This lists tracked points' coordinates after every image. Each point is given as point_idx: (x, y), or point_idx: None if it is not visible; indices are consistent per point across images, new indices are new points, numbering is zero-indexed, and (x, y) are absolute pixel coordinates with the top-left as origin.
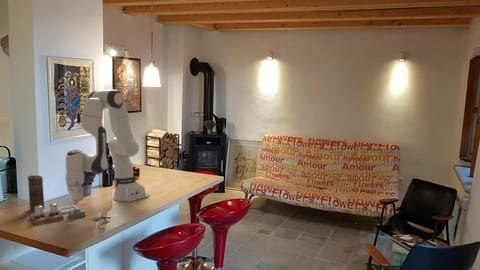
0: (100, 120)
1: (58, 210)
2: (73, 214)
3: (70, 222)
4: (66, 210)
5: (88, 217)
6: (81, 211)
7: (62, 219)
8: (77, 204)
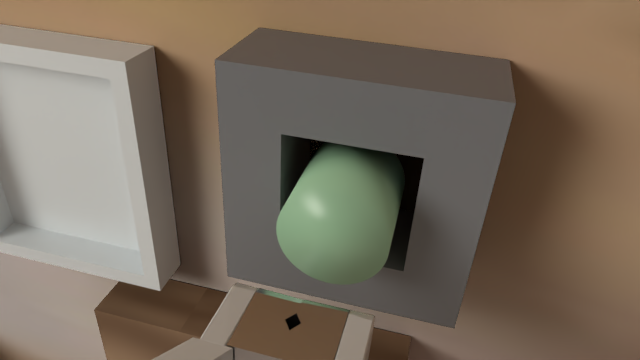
0: None
1: (122, 321)
2: (461, 296)
3: (572, 323)
4: (48, 172)
5: (595, 26)
6: (439, 159)
7: (406, 356)
8: (370, 331)
